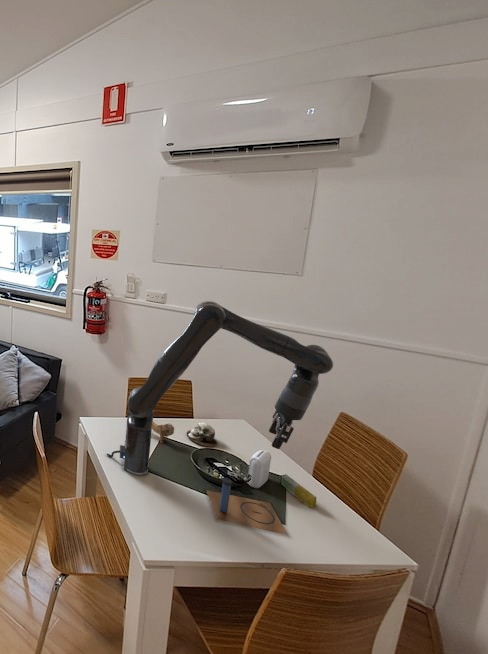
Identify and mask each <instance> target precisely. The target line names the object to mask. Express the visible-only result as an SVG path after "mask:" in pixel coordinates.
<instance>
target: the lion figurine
mask: <svg viewBox="0 0 488 654" xmlns="http://www.w3.org/2000/svg"><path fill="white" fill-rule="evenodd" d="M152 432H154V433H156V434H157V435H159V442H160V443H161V444H163V443H164V441H165V440H166V439H165V438H167V437H170V436H172V435H173V434H174V433H175V426H174V425H173V424H172V423H165V424H157V423H156V422H154V421H153V424H152ZM164 437H165V438H164Z"/></svg>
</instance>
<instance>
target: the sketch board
mask: <svg viewBox="0 0 488 654" xmlns="http://www.w3.org/2000/svg"><path fill="white" fill-rule="evenodd" d="M205 491H206V494H207V496H208V499H209V502H210V505H211V507H212V510H213V513H214V516H215V518H216V520H218V521H221V522H226V523H230V524H234V525H240V526H243V527H249V528H252V529H253V528H254V529H258V530H262V531H268V532H271V533H275V534H280V535H284V536H288V535H289V534H288V532H287V530H286V529H285V527H284V525H283V523H282V522H281V520H280V518H279V516H278V515H277V513H276V511H275V509H274V507H273V506H272V504H271V503H270V502H268V501H262V500H257V499H254V498H252V497H251V496H250V495H249V494H246V496H248V497H249V498H247V497H242V496H238V495H233V494H230V497H229V504H228V511H227V513H226V514H224V513H222V512H220V509H219V506H220V499H221V492H219V491H213V490H208V489H206V490H205ZM243 502H253V503H257V504H259V505H261V506H263V507H265V508H266V509H268V510H269V511H270V512H271V513H272V514H273V516H274V518H275V520H274V523H271V524H263V523H269V522H272V521H273V517H272V515H271V513H270V512H269V511H267V510H266V509H265V508H263V507H261V506H259V505H257V504H253V503H244V504H243V505H242V509H243V511H244V513H246V514H247V515H248V516H249V517H250V518H252V519H254V520H256V521H258V522H263V523H258V522H256V521H254V520H252V519H250V518H249V517H248V516H246V515H245V514H244V513H243V512H242V510H241V508H240V506H241V504H242V503H243Z"/></svg>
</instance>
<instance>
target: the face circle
mask: <svg viewBox="0 0 488 654" xmlns="http://www.w3.org/2000/svg"><path fill="white" fill-rule="evenodd" d="M244 503H253V502H243V503H242V504H241V506H240V508H241V510H242V512H243V513H244V511H243V509H242V505H243V504H244ZM253 504H257V503H253ZM257 505H259V504H257ZM259 506H261V505H259ZM261 507H263V506H261ZM263 508H265V507H263ZM265 509H266V508H265ZM266 510H267V511H269V510H268V509H266ZM269 512H270V511H269ZM270 513H271V512H270ZM244 514H245V515H246V516H248V515H247V514H246V513H244ZM271 515H272V517H273V521H272V522H269V523H263V522H258V521H256V520H254V519H252V518H250V517H249V516H248V517H249V518H250V519H252V520H254V521H256V522H258V523H263V524H271V523H274V520H275V518H274V516H273V514H272V513H271Z"/></svg>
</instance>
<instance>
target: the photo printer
mask: <svg viewBox="0 0 488 654" xmlns="http://www.w3.org/2000/svg"><path fill="white" fill-rule="evenodd" d="M271 461H272V455H271V453H270V452H269V451H268V450H266V449H260V450H258V451H256V452H255V453H253V455H252V456H251V457H250V459H249V466H248V473H247V475H248V474H250V475H251V476H252V477H251V480H250V481H249V482H247V481H246V483H247V484H248V485H249V486H250V487H252V488H255V489H259V488H261V487H262V486H263V485H264V484H266V482H267V481H268V480H269V477H270V468H271Z"/></svg>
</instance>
